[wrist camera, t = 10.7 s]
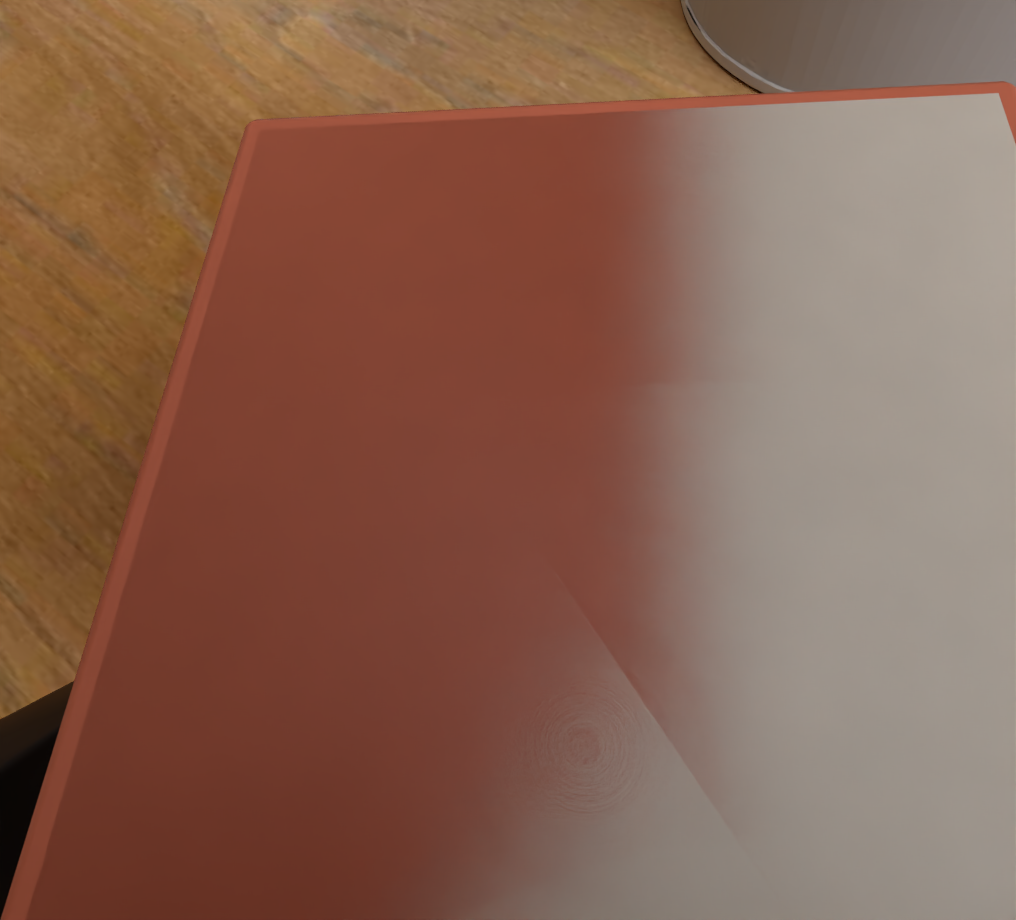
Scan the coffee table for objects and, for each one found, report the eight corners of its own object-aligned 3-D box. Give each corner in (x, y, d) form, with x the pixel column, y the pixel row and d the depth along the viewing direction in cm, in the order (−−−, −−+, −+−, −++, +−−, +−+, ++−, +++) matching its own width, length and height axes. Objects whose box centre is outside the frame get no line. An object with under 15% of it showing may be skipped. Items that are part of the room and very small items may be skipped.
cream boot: (714, 924, 13) (1924, 2580, 1) (460, 899, 14) (-305, 1853, 2) (684, 332, 19) (856, -382, 7) (504, 333, 19) (378, -317, 8)
